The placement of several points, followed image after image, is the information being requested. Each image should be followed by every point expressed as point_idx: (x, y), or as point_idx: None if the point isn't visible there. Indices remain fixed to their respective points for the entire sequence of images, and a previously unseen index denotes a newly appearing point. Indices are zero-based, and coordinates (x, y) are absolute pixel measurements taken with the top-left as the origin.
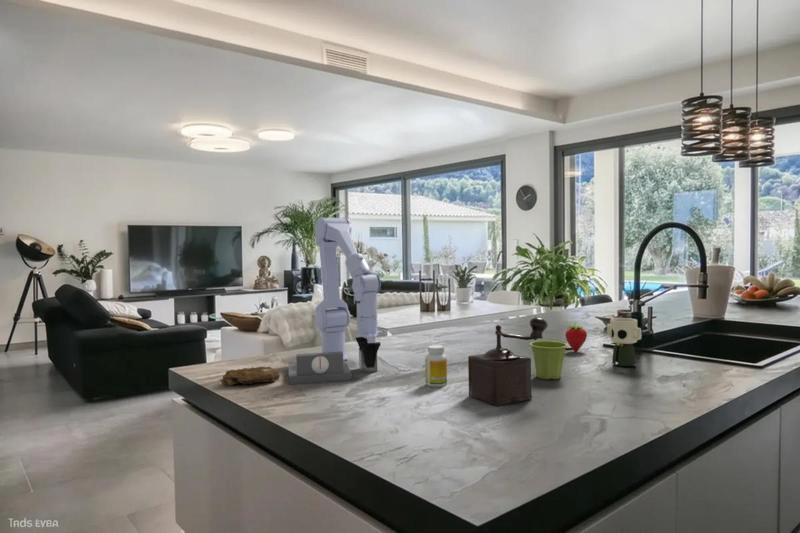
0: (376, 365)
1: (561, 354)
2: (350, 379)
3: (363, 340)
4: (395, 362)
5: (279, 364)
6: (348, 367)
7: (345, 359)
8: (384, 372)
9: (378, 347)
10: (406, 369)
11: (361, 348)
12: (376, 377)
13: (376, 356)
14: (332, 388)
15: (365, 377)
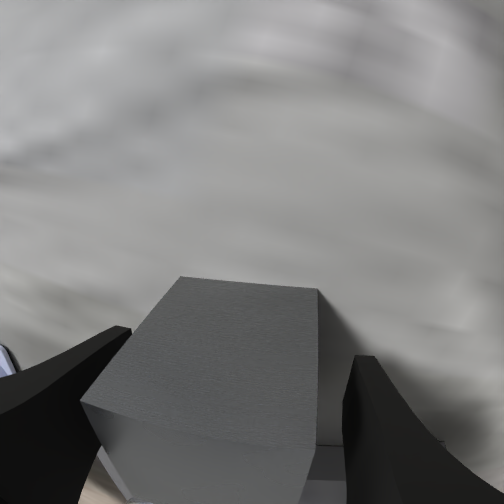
0: (315, 324)
1: None
2: (443, 446)
3: (43, 501)
4: (44, 84)
5: (94, 496)
6: (329, 480)
7: (8, 357)
8: (380, 243)
9: (502, 497)
10: (329, 16)
11: (142, 492)
12: (485, 331)
13: (315, 388)
14: (494, 473)
15: (444, 387)
